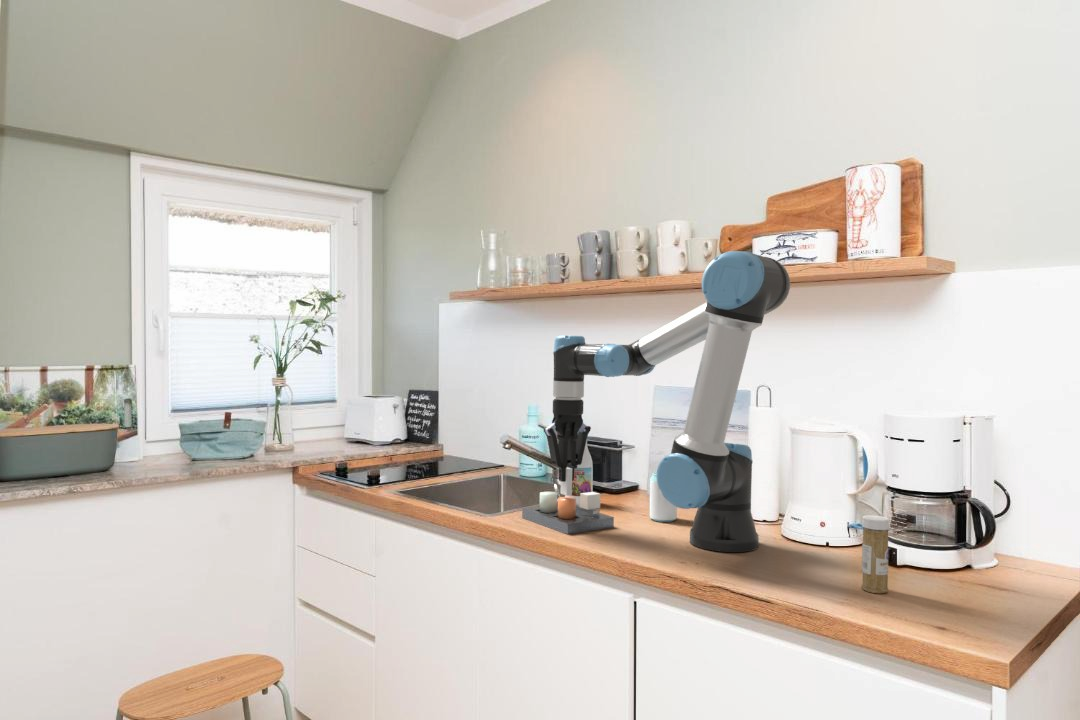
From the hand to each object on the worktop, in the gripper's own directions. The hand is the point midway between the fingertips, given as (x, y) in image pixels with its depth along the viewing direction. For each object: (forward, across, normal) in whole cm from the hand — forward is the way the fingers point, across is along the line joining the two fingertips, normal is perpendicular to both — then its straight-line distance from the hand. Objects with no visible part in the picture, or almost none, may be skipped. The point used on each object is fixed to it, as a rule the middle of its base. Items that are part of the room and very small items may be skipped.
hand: (566, 494), depth 178 cm
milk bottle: (+8, -20, -21) cm, 30 cm away
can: (+8, -27, +6) cm, 29 cm away
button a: (+6, 0, 0) cm, 6 cm away
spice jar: (+7, -21, +68) cm, 72 cm away
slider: (+4, -7, +1) cm, 8 cm away
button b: (+6, 0, -8) cm, 9 cm away
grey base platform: (+8, -3, -4) cm, 9 cm away
